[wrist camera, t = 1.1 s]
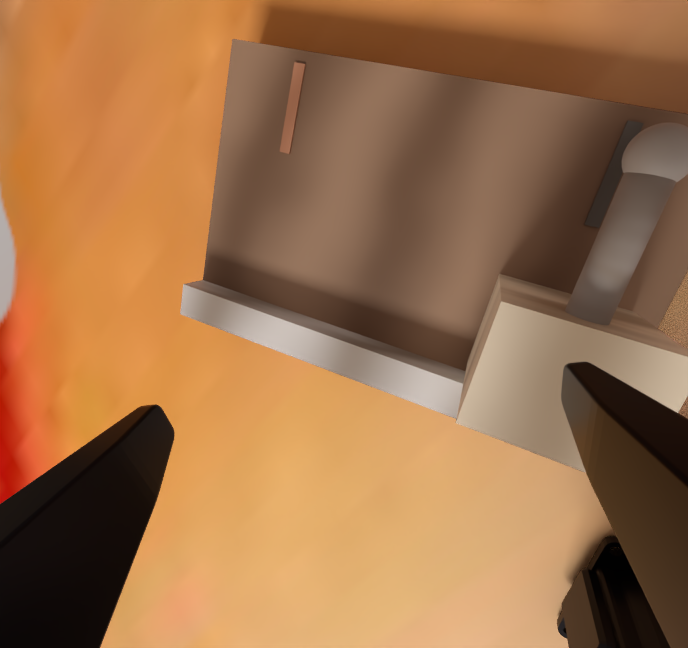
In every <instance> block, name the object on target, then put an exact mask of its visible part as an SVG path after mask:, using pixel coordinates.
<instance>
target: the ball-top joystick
mask: <svg viewBox="0 0 688 648" xmlns="http://www.w3.org/2000/svg"><path fill="white" fill-rule="evenodd" d="M622 170H623V173H624V174H623V176H622V179H621V181H620V183H619V186H618V188H617V190H616V193H615V195H614V197H613V200H612V202H611V204H610V207H609V209H608V211H607V214H606V216H605V218H604V221H603V223H602V225H601V228H600V230H599V232H598V234H597V237H596V239H595V241H594V244H593V246H592V248H591V251H590V253H589V255H588V258H587V260H586V262H585V265H584V267H583V269H582V272H581V274H580V276H579V279H578V281H577V283H576V286H575V288H574V290H573V293H572V294H569V293H566V292H562V291H559V290H555V289H552V288H548V287H545V286H541V285H537V284H534V283H530V282H527V281H523V280H520V279H516V278H513V277H509V276H505V275H502V274H499V276H498V279H497V282H496V284H495V287H494V290H493V293H492V295H491V298H490V301H489V304H488V306H487V309H486V312H485V315H484V317H483V320H482V323H481V326H480V328H479V331H478V334H477V337H476V339H475V342H474V345H473V348H472V350H471V353H470V356H469V359H468V362H467V367H466V372H465V377H464V382H463V388H462V393H461V398H460V403H459V408H458V414H457V419H456V423H457V424H460V425H462V426H465V427H467V428H470V429H473V430H475V431H478V432H481V433H483V434H486V435H488V436H491V437H494V438H496V439H499V440H501V441H504V442H507V443H509V444H512V445H515V446H517V447H520V448H522V449H525V450H528V451H530V452H533V453H535V454H538V455H541V456H543V457H546V458H549V459H551V460H554V461H556V462H559V463H562V464H564V465H567V466H569V467H572V468H575V469H577V470H580V471H583V472H585V473H586V471H585V468H584V466H583V463H582V460H581V457H580V454H579V451H578V449H577V446H576V443H575V440H574V437H573V434H572V431H571V428H570V426H569V423H568V420H567V417H566V414H565V411H564V408H563V405H562V401H561V389H562V378H563V369H564V366H565V365H566V364H567V363H575V362H589V363H592V364H593V365H595V366H597V367H598V368H600V369H602V370H604V371H605V372H607V373H609V374H611V375H612V376H614V377H616V378H618V379H619V380H621V381H623V382H625V383H626V384H628V385H630V386H632V387H633V388H635V389H637V390H639V391H640V392H642V393H644V394H646V395H647V396H649V397H651V398H652V399H654V400H656V401H658V402H659V403H661V404H663V405H665V406H666V407H668V408H670V409H672V410H673V411H675V412H677V413H678V412H679V410H680V408H681V407H682V405H683V403H684V401H685V400H686V398H687V396H688V349H687V348H685V347H684V346H682V345H681V344H679V343H678V342H676V341H675V340H674V339H672V338H671V337H669V336H668V335H666V334H665V333H663V332H662V331H661V330H659V329H658V328H656V327H655V326H653V325H652V324H650V323H649V322H648V321H646V320H645V319H643V318H642V317H640V316H639V315H637V314H636V313H634V312H633V311H630V310H626V309H623V308H619V307H618V305H619V303H620V300H621V298H622V296H623V294H624V292H625V290H626V288H627V286H628V284H629V281H630V279H631V277H632V275H633V273H634V271H635V269H636V267H637V264H638V262H639V260H640V258H641V256H642V254H643V252H644V250H645V248H646V245H647V243H648V241H649V239H650V237H651V235H652V233H653V231H654V229H655V226H656V224H657V222H658V220H659V218H660V216H661V214H662V212H663V210H664V207H665V205H666V203H667V201H668V199H669V197H670V195H671V193H672V190H673V188H674V186H675V184H676V182H678V181H680V180H681V179H682V178H684V177H685V176H686V175H687V174H688V127H686V126H685V125H682V124H678V123H671V122H670V123H660V124H656V125H653V126H650V127H648V128H646V129H644V130H643V131H641V132H640V133H638V134H637V135H636V136H635V137H634V138H633V139H632V140H631V141H630V142H629V144H628V145H627V147H626V149H625V151H624V153H623V157H622Z"/></svg>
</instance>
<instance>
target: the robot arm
mask: <svg viewBox="0 0 688 648" xmlns="http://www.w3.org/2000/svg"><path fill="white" fill-rule="evenodd" d="M561 401H562V405H563V408H564V411H565V414H566V417H567V420H568V423H569V426H570V428H571V431H572V434H573V437H574V440H575V443H576V446H577V449H578V451H579V454H580V457H581V460H582V463H583V466H584V468H585V471H586V474H587V476H588V478H589V480H590V483H591V485H592V487H593V489H594V491H595V493H596V495H597V497H598V499H599V501H600V503H601V505H602V507H603V510H604V512H605V514H606V516H607V518H608V520H609V522H610V524H611V526H612V528H613V530H614V532H615V534H616V536H617V537H615V536H609V537H606V538H605V539H604V540H603V541H602V542H601V544H600V546H599V548H598V549H597V551H596V553H595V555H594V556H593V558H592V560H591V562H590V563H589V565H588V567H587V568H584V569H582V570H581V571H580V572H579V574H578V576H577V578H576V579H575V581H574V583H573V585H572V586H571V588H570V590H569V592H568V593H567V595H566V597H565V599H564V600H563V602H562V610H563V611H562V612H561V614H560V616H559V618H558V619H557V626H558V631H559V633H560V634H561V635H562V636H563V637H565V638H567V639H568V645H569V648H688V419H687V418H686V417H684V416H682V415H680V414H679V413H677V412H675V411H673V410H672V409H670V408H668V407H666V406H665V405H663V404H661V403H659V402H658V401H656V400H654V399H652V398H651V397H649V396H647V395H646V394H644V393H642V392H640V391H639V390H637V389H635V388H633V387H632V386H630V385H628V384H626V383H625V382H623V381H621V380H619V379H618V378H616V377H614V376H612V375H611V374H609V373H607V372H605V371H604V370H602V369H600V368H598V367H597V366H595V365H593V364H592V363H589V362H575V363H567V364H566V365H565V366H564V369H563V378H562V389H561ZM173 441H174V429H173V427H172V425H171V423H170V422H169V420H168V418H167V416H166V415H165V413H164V411H163V409H162V408H161V407H160V406H158V405H146V406H141V407H139V408H137V409H136V410H134V411H133V412H131V413H130V414H129V415H127V416H126V417H124V418H123V419H121V420H120V421H119V422H117V423H116V424H114V425H113V426H111V427H110V428H109V429H107V430H106V431H104V432H103V433H101V434H100V435H99V436H97V437H96V438H94V439H93V440H91V441H90V442H89V443H87V444H86V445H84V446H83V447H81V448H80V449H78V450H77V451H76V452H74V453H73V454H71V455H70V456H68V457H67V458H66V459H64V460H63V461H61V462H60V463H58V464H57V465H56V466H54V467H53V468H51V469H50V470H48V471H47V472H46V473H44V474H43V475H41V476H40V477H38V478H37V479H36V480H34V481H33V482H31V483H30V484H28V485H27V486H26V487H24V488H23V489H21V490H20V491H18V492H17V493H16V494H14V495H13V496H11V497H10V498H8V499H7V500H5V501H4V502H3V503H1V504H0V648H100V647H101V644H102V641H103V639H104V636H105V634H106V631H107V628H108V626H109V623H110V621H111V618H112V615H113V613H114V610H115V608H116V605H117V602H118V600H119V597H120V595H121V592H122V589H123V587H124V584H125V582H126V579H127V576H128V574H129V571H130V569H131V566H132V563H133V561H134V558H135V556H136V553H137V550H138V548H139V545H140V543H141V540H142V537H143V535H144V532H145V530H146V527H147V524H148V522H149V519H150V517H151V514H152V511H153V509H154V506H155V503H156V501H157V498H158V494H159V491H160V488H161V484H162V481H163V477H164V473H165V470H166V466H167V462H168V459H169V455H170V452H171V448H172V444H173ZM612 547H619V549H617V550H612V549H611V548H612Z"/></svg>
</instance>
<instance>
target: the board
mask: <svg viewBox="0 0 688 648" xmlns="http://www.w3.org/2000/svg"><path fill="white" fill-rule="evenodd" d="M670 122H671V123H678V124H682V125H685V126H686V127H688V114H684V113H678V112H672V111H666V110H660V109H654V108H648V107H642V106H636V105H630V104H624V103H617V102H611V101H605V100H599V99H593V98H587V97H581V96H575V95H569V94H563V93H557V92H551V91H545V90H539V89H533V88H527V87H521V86H515V85H509V84H503V83H497V82H491V81H485V80H478V79H472V78H466V77H460V76H454V75H448V74H442V73H436V72H430V71H424V70H418V69H412V68H406V67H400V66H394V65H388V64H382V63H376V62H370V61H364V60H358V59H352V58H346V57H339V56H333V55H327V54H321V53H315V52H309V51H303V50H297V49H291V48H285V47H279V46H273V45H267V44H261V43H255V42H249V41H243V40H237V39H233V40H232V48H231V56H230V64H229V72H228V80H227V89H226V97H225V105H224V113H223V121H222V129H221V138H220V146H219V154H218V162H217V170H216V178H215V186H214V195H213V203H212V211H211V219H210V227H209V235H208V243H207V252H206V260H205V268H204V276H203V280H201V281H196V282H192V283H187V284H183V294H182V303H181V312H180V314H181V315H184V316H187V317H189V318H192V319H195V320H197V321H200V322H202V323H205V324H208V325H210V326H213V327H216V328H218V329H221V330H223V331H226V332H229V333H231V334H234V335H237V336H239V337H242V338H245V339H247V340H250V341H252V342H255V343H258V344H260V345H263V346H266V347H268V348H271V349H274V350H276V351H279V352H281V353H284V354H287V355H289V356H292V357H295V358H297V359H300V360H303V361H305V362H308V363H310V364H313V365H316V366H318V367H321V368H324V369H326V370H329V371H332V372H334V373H337V374H339V375H342V376H345V377H347V378H350V379H353V380H355V381H358V382H361V383H363V384H366V385H368V386H371V387H374V388H376V389H379V390H382V391H384V392H387V393H389V394H392V395H395V396H397V397H400V398H403V399H405V400H408V401H411V402H413V403H416V404H418V405H421V406H424V407H426V408H429V409H432V410H434V411H437V412H440V413H442V414H445V415H447V416H450V417H453V418H455V419H457V414H458V408H459V403H460V398H461V393H462V388H463V382H464V377H465V372H466V367H467V362H468V359H469V356H470V353H471V350H472V348H473V345H474V342H475V339H476V337H477V334H478V331H479V328H480V326H481V323H482V320H483V317H484V315H485V312H486V309H487V306H488V304H489V301H490V298H491V295H492V293H493V290H494V287H495V284H496V282H497V279H498V276H499V274H502V275H505V276H509V277H513V278H516V279H520V280H523V281H527V282H530V283H534V284H537V285H541V286H545V287H548V288H552V289H555V290H559V291H562V292H566V293H569V294H572V293H573V290H574V288H575V286H576V283H577V281H578V279H579V276H580V274H581V272H582V269H583V267H584V265H585V262H586V260H587V258H588V255H589V253H590V251H591V248H592V246H593V244H594V241H595V239H596V237H597V234H598V232H599V230H600V228H601V225H602V223H603V221H604V218H605V216H606V214H607V211H608V209H609V207H610V204H611V202H612V200H613V197H614V195H615V193H616V190H617V188H618V186H619V183H620V181H621V179H622V176H623V174H624V173H623V170H622V157H623V153H624V151H625V149H626V147H627V145H628V144H629V142H630V141H631V140H632V139H633V138H634V137H635V136H636V135H637V134H638V133H640V132H641V131H643V130H644V129H646V128H648V127H650V126H653V125H656V124H660V123H670ZM687 270H688V174H687V175H686V176H685V177H684V178H682V179H681V180H680V181H678V182H676V184H675V186H674V188H673V190H672V193H671V195H670V197H669V199H668V201H667V203H666V205H665V207H664V210H663V212H662V214H661V216H660V218H659V220H658V222H657V224H656V226H655V229H654V231H653V233H652V235H651V237H650V239H649V241H648V243H647V245H646V248H645V250H644V252H643V254H642V256H641V258H640V260H639V262H638V264H637V267H636V269H635V271H634V273H633V275H632V277H631V279H630V281H629V284H628V286H627V288H626V290H625V292H624V294H623V296H622V298H621V300H620V303H619V305H618V307H619V308H623V309H626V310H630V311H633V312H634V313H636V314H637V315H639V316H640V317H642V318H643V319H645V320H646V321H648V322H649V323H650V324H652V325H653V326H655V327H656V328H658V327H659V325H660V323H661V321H662V319H663V317H664V315H665V313H666V311H667V309H668V307H669V305H670V303H671V301H672V300H673V298H674V296H675V294H676V292H677V290H678V288H679V286H680V284H681V282H682V280H683V278H684V276H685V274H686V272H687Z"/></svg>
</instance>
